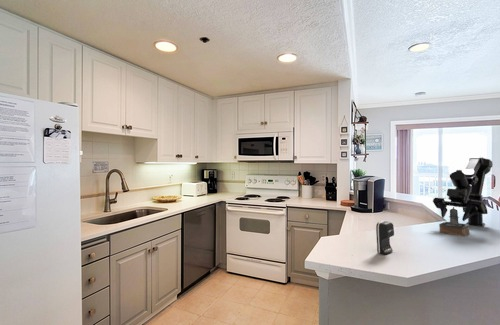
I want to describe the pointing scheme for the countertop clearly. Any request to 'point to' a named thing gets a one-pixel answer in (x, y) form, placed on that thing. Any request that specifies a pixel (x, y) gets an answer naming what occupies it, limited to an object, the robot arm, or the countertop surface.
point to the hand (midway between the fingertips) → (452, 218)
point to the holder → (454, 229)
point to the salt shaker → (454, 218)
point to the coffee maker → (384, 236)
